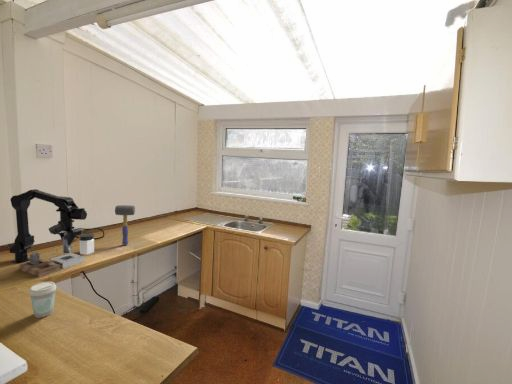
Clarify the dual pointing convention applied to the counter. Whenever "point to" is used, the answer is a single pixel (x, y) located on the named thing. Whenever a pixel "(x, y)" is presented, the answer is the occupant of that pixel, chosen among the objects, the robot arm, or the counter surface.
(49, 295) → the coffee cup
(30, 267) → the rack
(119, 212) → the rubber mallet
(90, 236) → the jar
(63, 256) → the socket
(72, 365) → the counter surface
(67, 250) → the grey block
